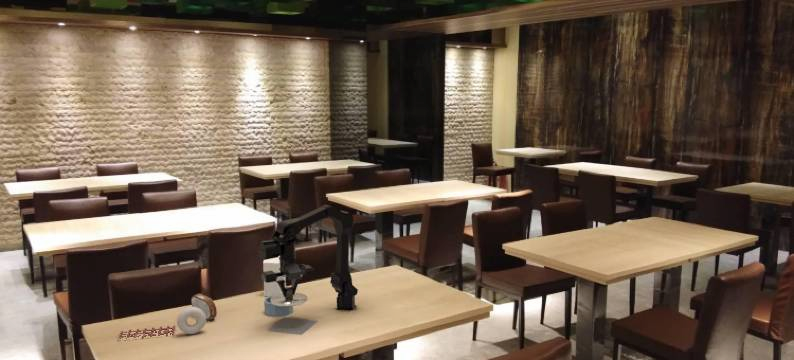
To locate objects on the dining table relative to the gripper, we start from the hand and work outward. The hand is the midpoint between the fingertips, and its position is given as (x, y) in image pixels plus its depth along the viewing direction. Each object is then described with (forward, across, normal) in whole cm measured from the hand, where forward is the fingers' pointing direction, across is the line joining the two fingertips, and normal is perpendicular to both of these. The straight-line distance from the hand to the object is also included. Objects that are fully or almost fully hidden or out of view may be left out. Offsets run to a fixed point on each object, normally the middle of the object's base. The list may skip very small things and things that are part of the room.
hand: (288, 295), depth 230 cm
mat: (+11, 0, -4) cm, 11 cm away
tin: (+11, -26, +24) cm, 37 cm away
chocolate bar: (+11, -48, +16) cm, 52 cm away
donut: (+11, -34, +8) cm, 37 cm away
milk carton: (+11, +6, +36) cm, 38 cm away
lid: (+2, 0, 0) cm, 2 cm away
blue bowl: (+11, 0, +13) cm, 17 cm away
